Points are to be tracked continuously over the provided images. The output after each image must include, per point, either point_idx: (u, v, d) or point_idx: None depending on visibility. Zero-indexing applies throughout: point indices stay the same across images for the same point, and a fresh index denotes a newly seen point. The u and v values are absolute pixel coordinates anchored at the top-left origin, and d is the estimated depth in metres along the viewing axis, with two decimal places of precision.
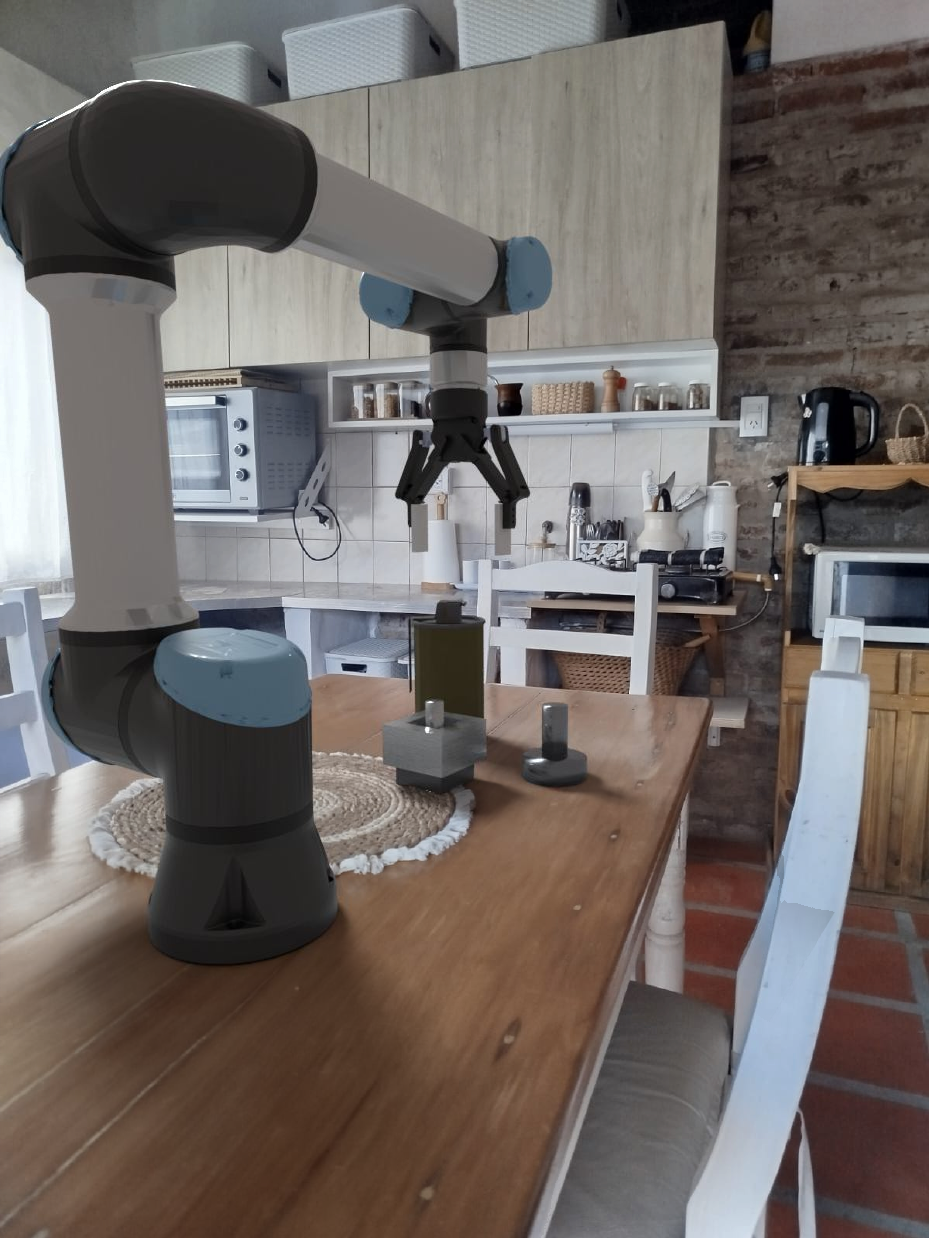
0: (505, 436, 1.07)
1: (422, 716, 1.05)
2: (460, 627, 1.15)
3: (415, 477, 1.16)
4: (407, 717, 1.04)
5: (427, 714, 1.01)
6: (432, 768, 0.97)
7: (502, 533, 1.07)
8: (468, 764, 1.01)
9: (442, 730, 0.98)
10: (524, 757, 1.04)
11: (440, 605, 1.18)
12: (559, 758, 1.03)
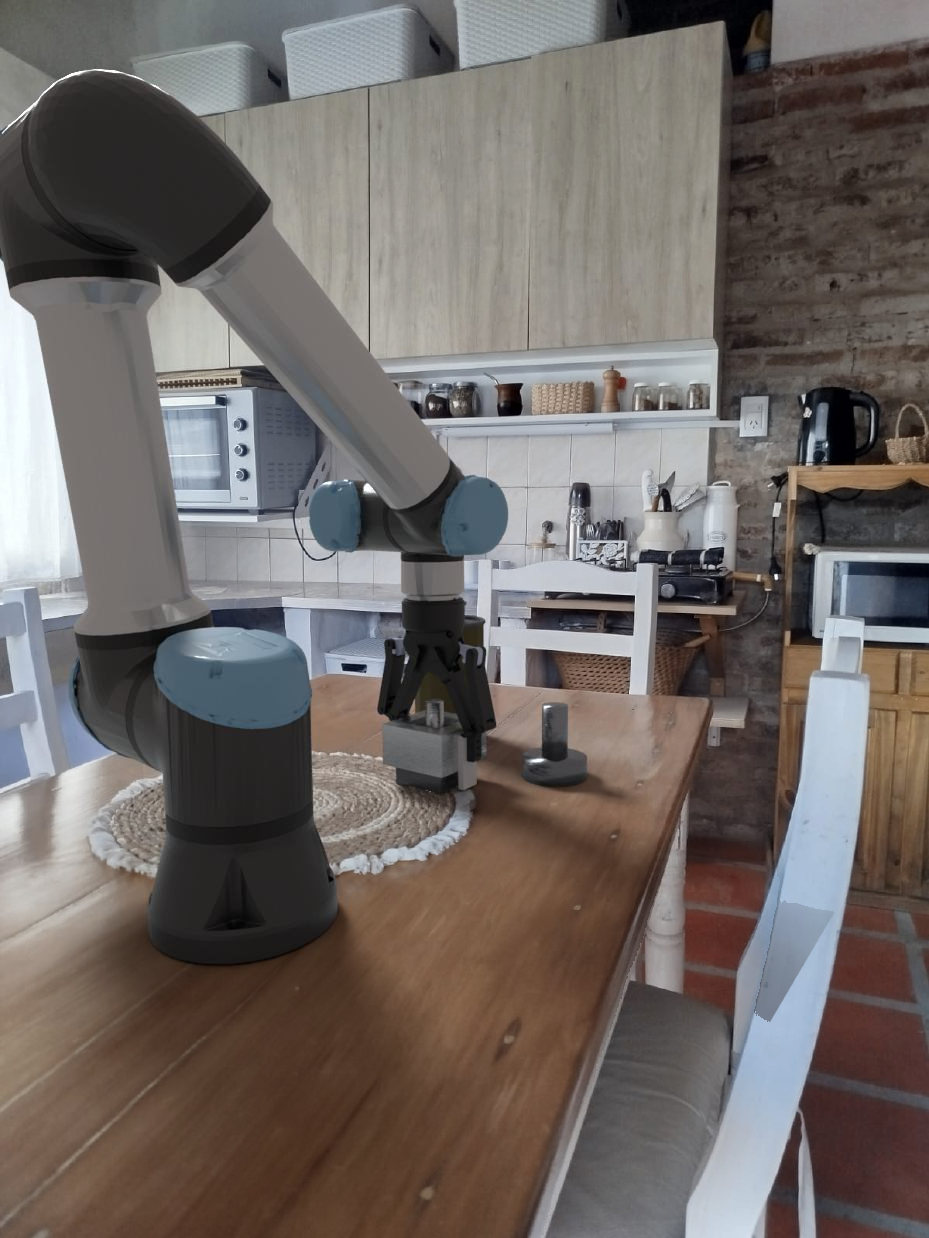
0: (481, 660, 0.98)
1: (422, 716, 1.05)
2: None
3: (396, 687, 1.06)
4: (407, 717, 1.04)
5: (427, 714, 1.01)
6: (432, 768, 0.97)
7: (466, 765, 0.99)
8: None
9: (442, 730, 0.98)
10: (524, 757, 1.04)
11: None
12: (559, 758, 1.03)
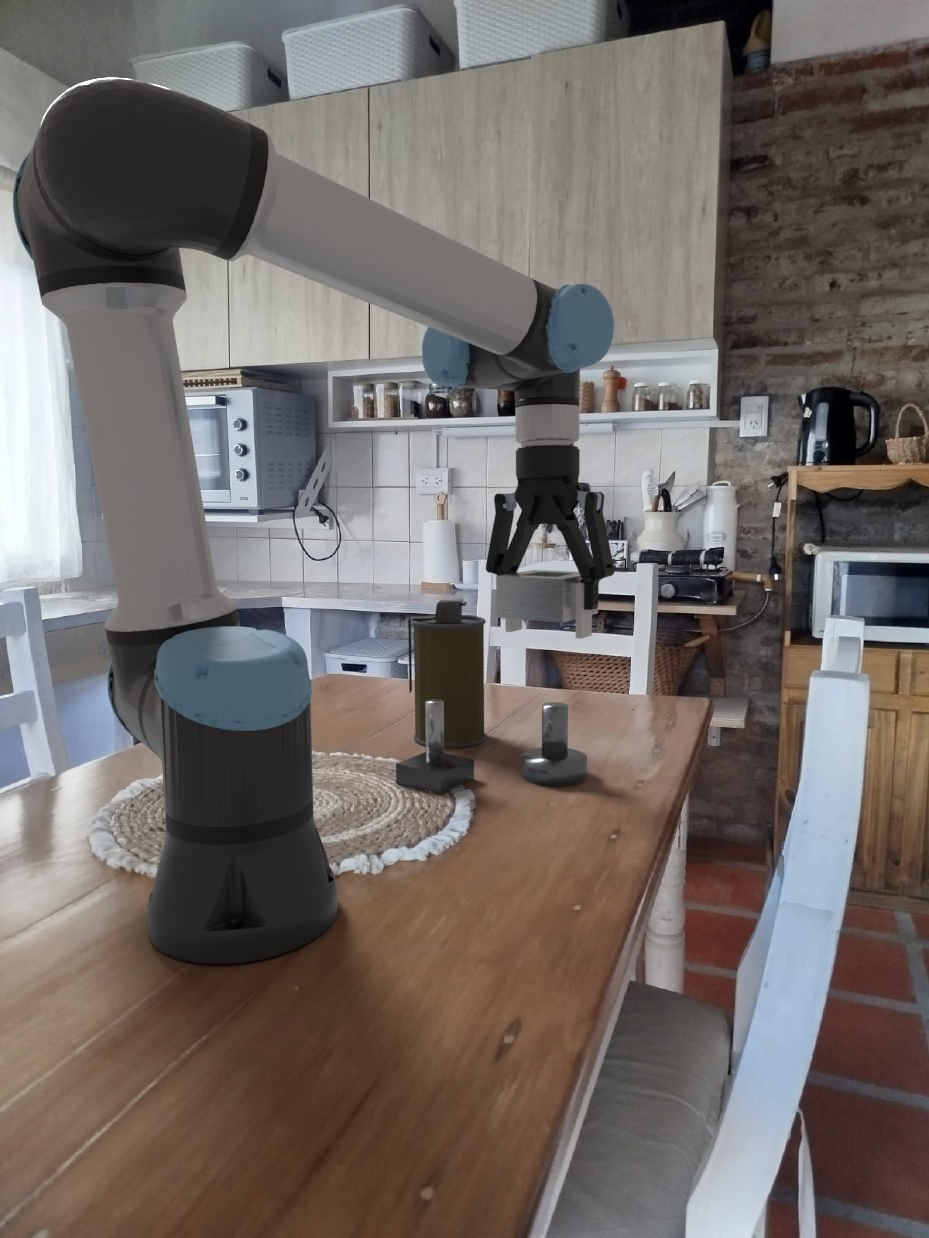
0: (599, 505, 0.97)
1: (532, 572, 1.04)
2: (460, 627, 1.15)
3: (504, 545, 1.05)
4: (517, 573, 1.04)
5: (427, 714, 1.01)
6: (552, 614, 0.97)
7: (584, 614, 0.99)
8: None
9: (561, 577, 0.98)
10: (524, 757, 1.04)
11: (440, 604, 1.18)
12: (559, 758, 1.03)
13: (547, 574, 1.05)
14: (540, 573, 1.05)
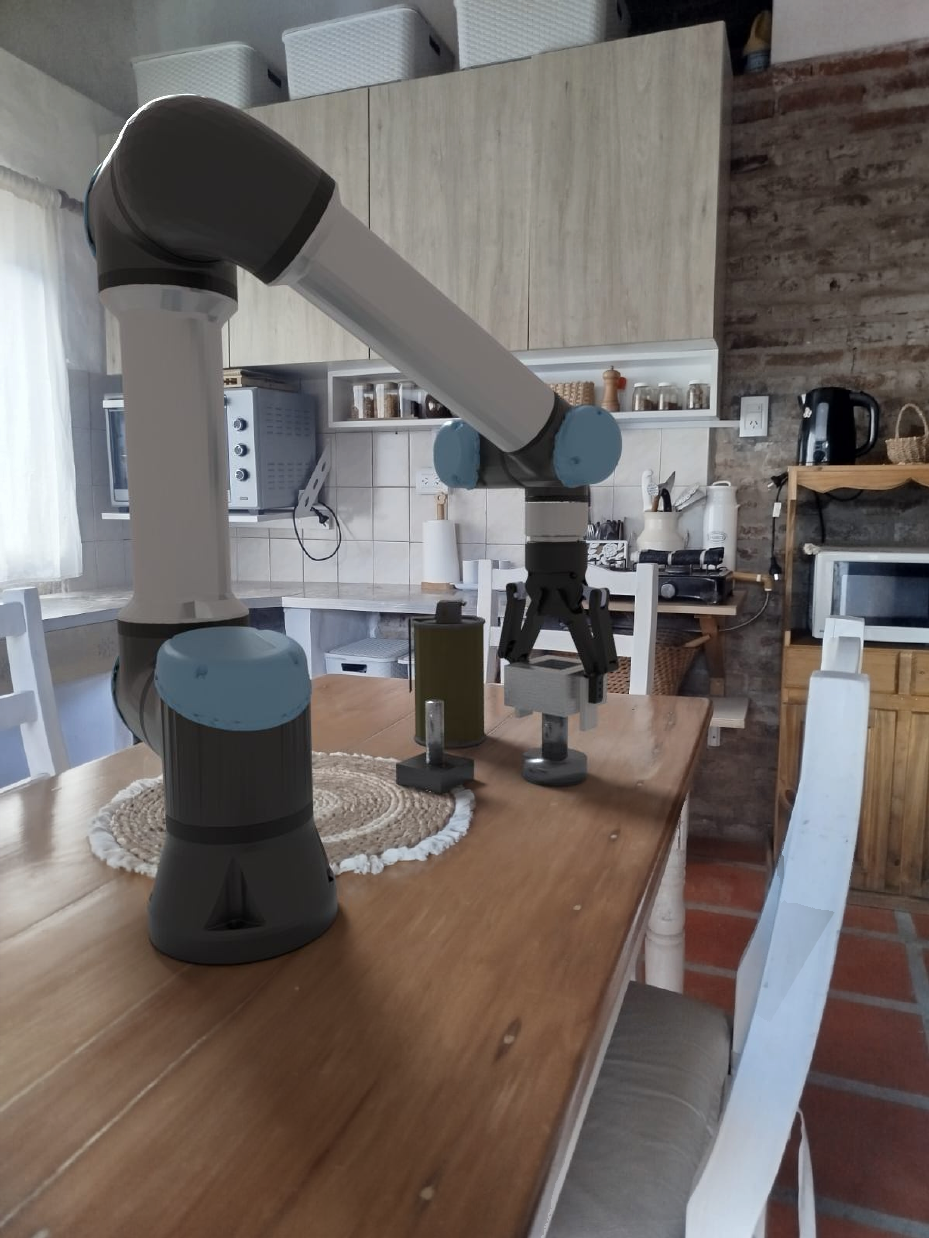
0: (605, 601, 0.98)
1: (542, 660, 1.06)
2: (460, 627, 1.15)
3: (516, 632, 1.07)
4: (528, 660, 1.05)
5: (427, 714, 1.01)
6: (554, 708, 0.98)
7: (588, 707, 1.00)
8: None
9: (565, 671, 0.99)
10: (524, 757, 1.04)
11: (440, 604, 1.18)
12: (559, 758, 1.03)
13: (558, 661, 1.06)
14: (551, 660, 1.07)
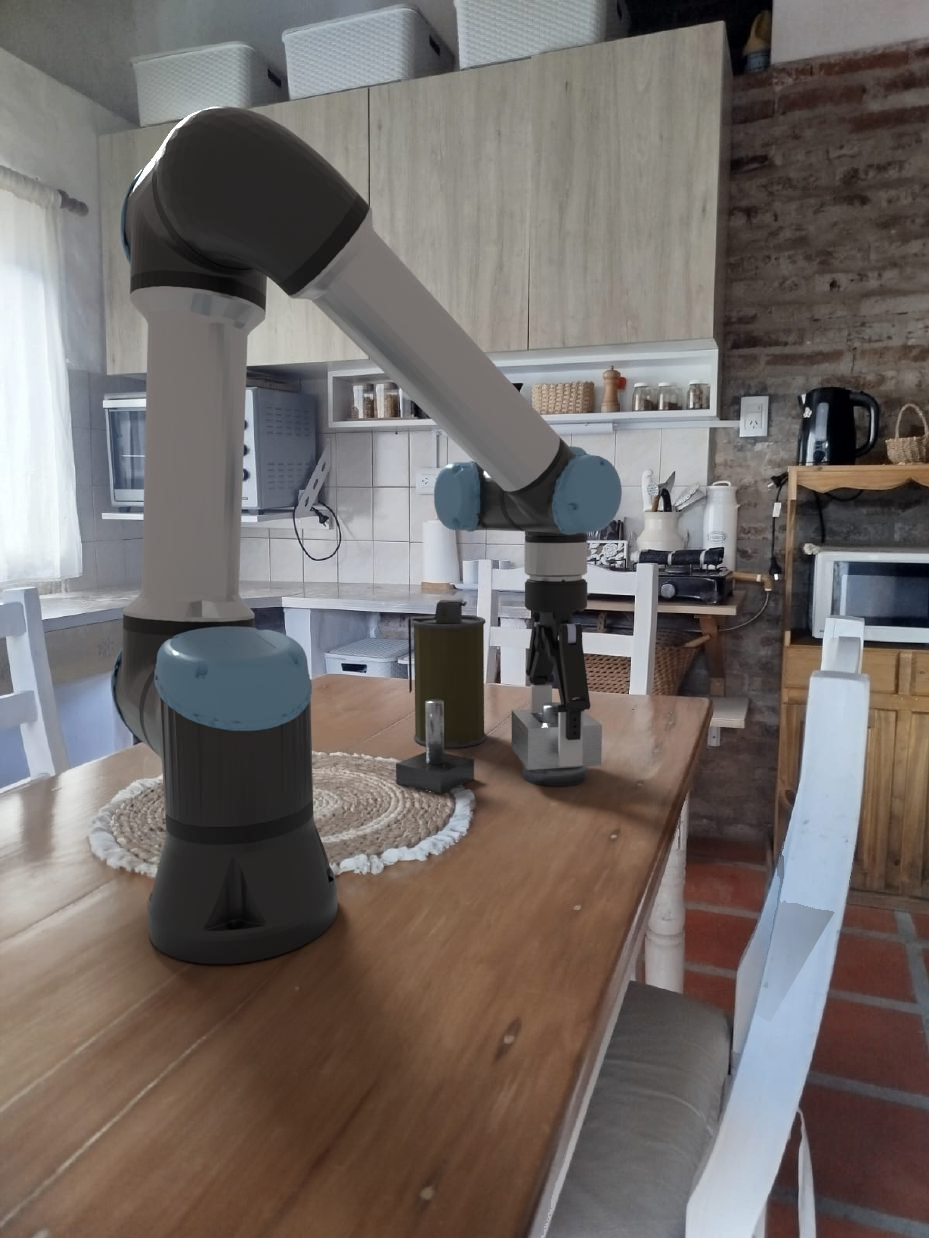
0: (575, 637, 0.96)
1: None
2: (460, 627, 1.15)
3: None
4: None
5: (427, 714, 1.01)
6: (525, 759, 1.01)
7: (565, 742, 0.97)
8: None
9: (540, 725, 1.00)
10: None
11: (440, 605, 1.18)
12: None
13: None
14: None
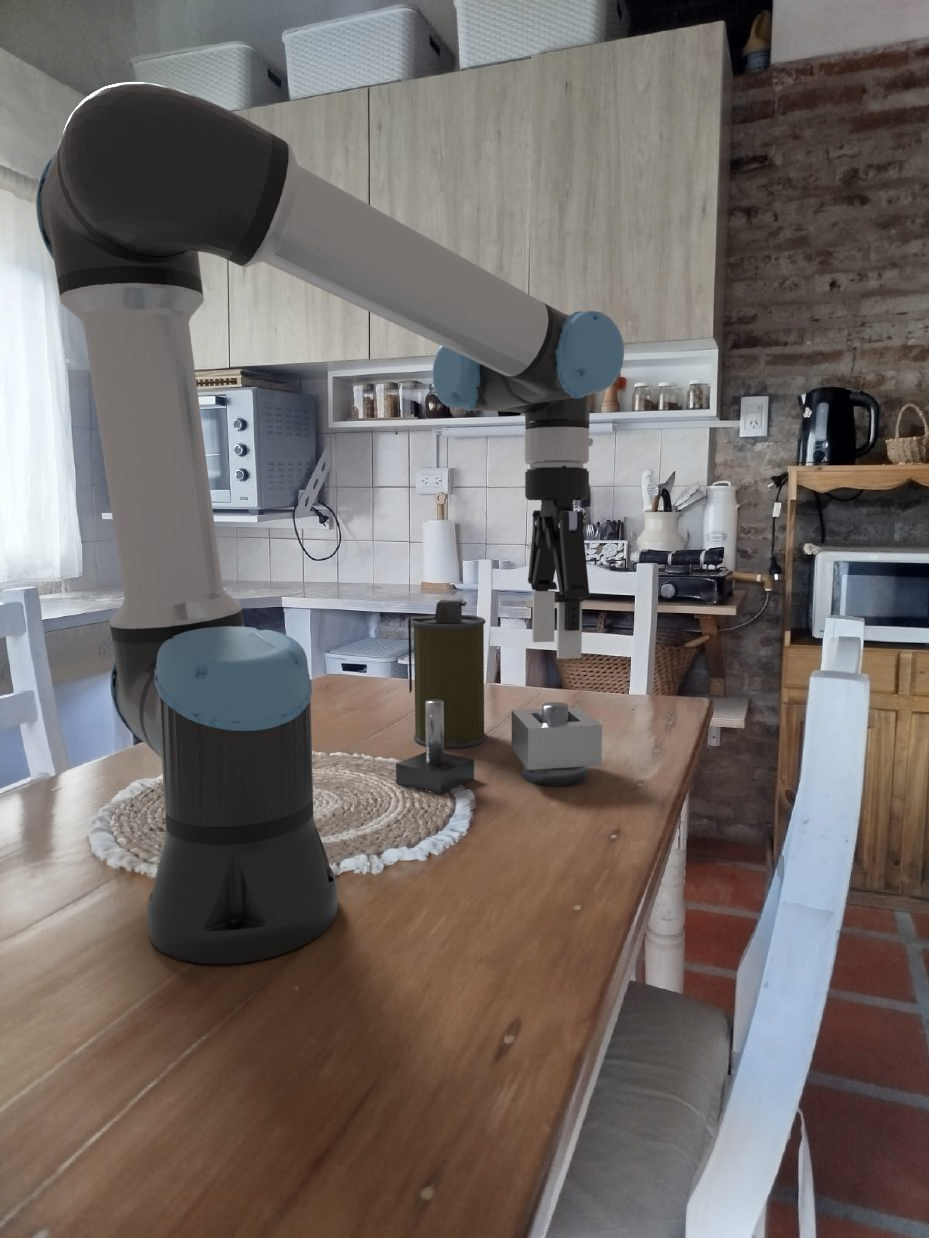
0: (576, 525, 0.94)
1: None
2: (460, 627, 1.15)
3: None
4: None
5: (427, 714, 1.01)
6: (525, 759, 1.01)
7: (564, 634, 0.96)
8: (570, 765, 1.00)
9: (540, 725, 1.00)
10: None
11: (440, 604, 1.18)
12: None
13: (571, 715, 1.06)
14: (568, 713, 1.07)
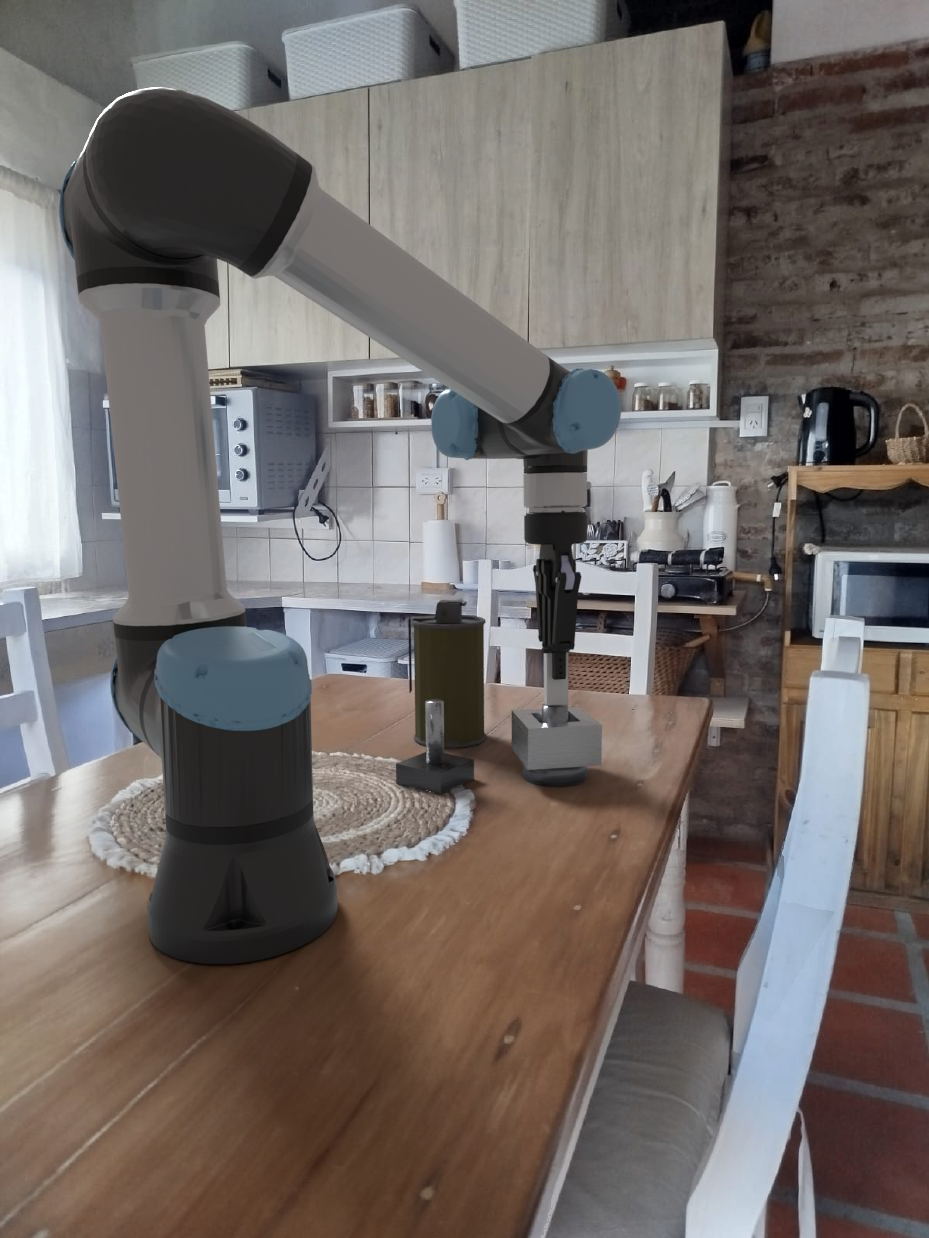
0: (572, 586, 0.96)
1: None
2: (460, 627, 1.15)
3: None
4: None
5: (427, 714, 1.01)
6: (525, 759, 1.01)
7: (552, 682, 1.03)
8: (570, 765, 1.00)
9: (540, 725, 1.00)
10: None
11: (440, 604, 1.18)
12: None
13: (571, 715, 1.06)
14: (568, 713, 1.07)
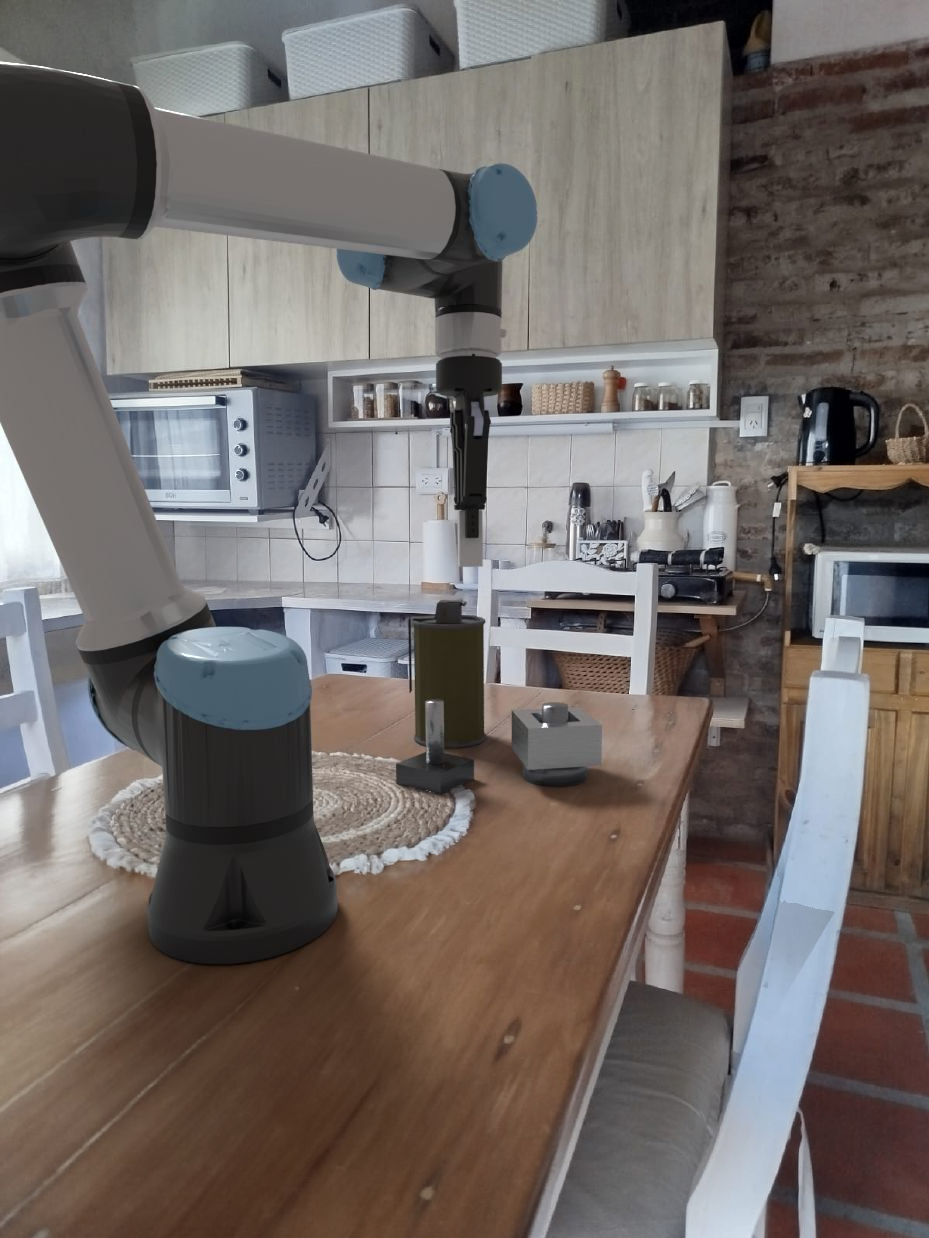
0: (482, 432, 0.92)
1: None
2: (460, 627, 1.15)
3: None
4: None
5: (427, 714, 1.01)
6: (525, 759, 1.01)
7: (465, 542, 0.98)
8: (570, 765, 1.00)
9: (540, 725, 1.00)
10: None
11: (440, 605, 1.18)
12: None
13: (571, 715, 1.06)
14: (568, 713, 1.07)
